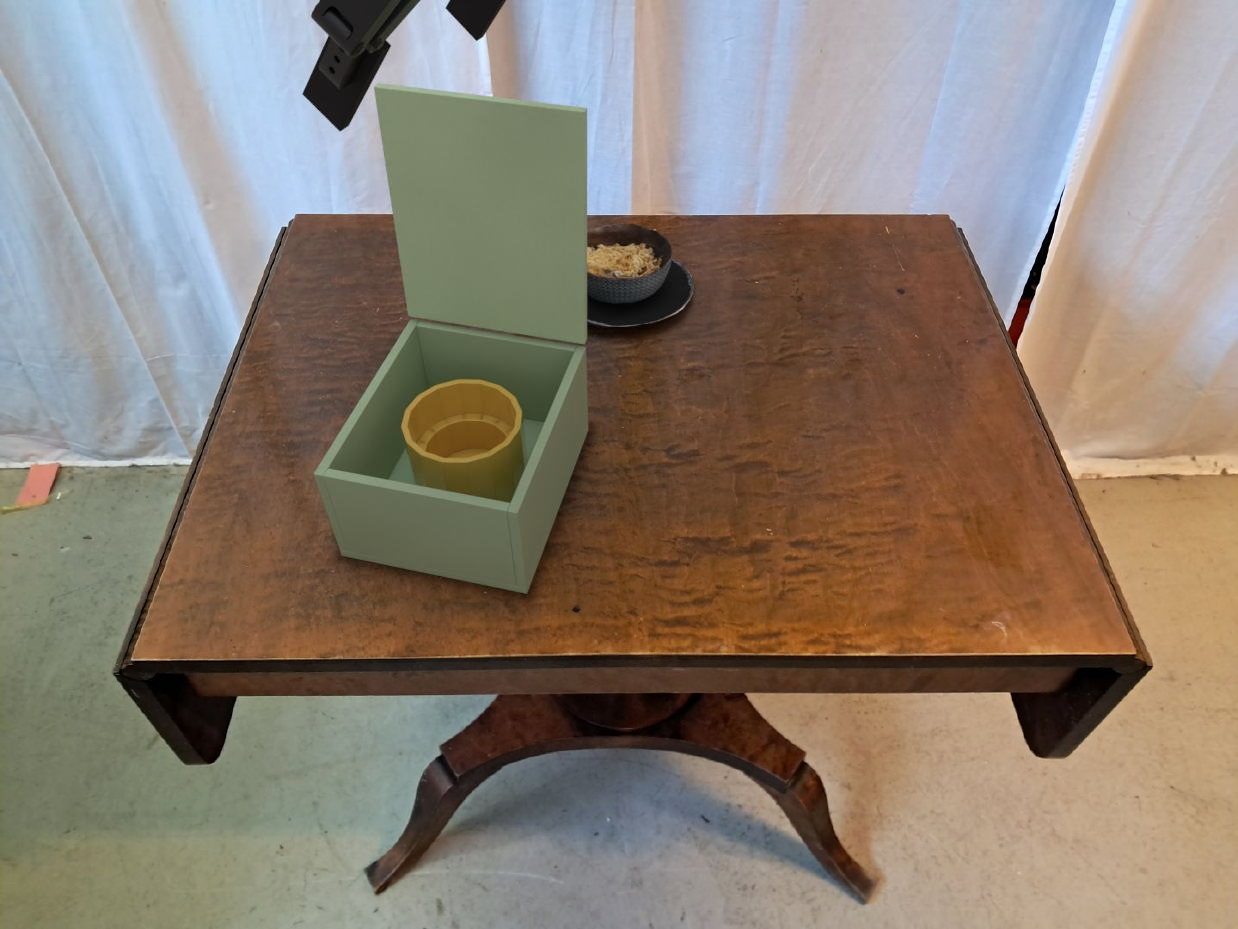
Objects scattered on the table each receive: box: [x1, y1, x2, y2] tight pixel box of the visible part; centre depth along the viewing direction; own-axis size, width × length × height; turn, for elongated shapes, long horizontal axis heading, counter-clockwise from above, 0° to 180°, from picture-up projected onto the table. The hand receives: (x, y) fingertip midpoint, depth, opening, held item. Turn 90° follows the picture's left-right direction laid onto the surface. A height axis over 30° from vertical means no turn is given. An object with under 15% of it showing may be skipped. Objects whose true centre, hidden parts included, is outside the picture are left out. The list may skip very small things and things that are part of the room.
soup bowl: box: [587, 223, 695, 331], centre depth 97 cm, size 15×16×7 cm
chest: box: [313, 318, 589, 595], centre depth 77 cm, size 19×16×10 cm
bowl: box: [401, 379, 527, 503], centre depth 77 cm, size 9×9×8 cm
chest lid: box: [373, 82, 588, 345], centre depth 73 cm, size 19×16×1 cm
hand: (399, 63), depth 56 cm, fingers open, 13 cm apart
